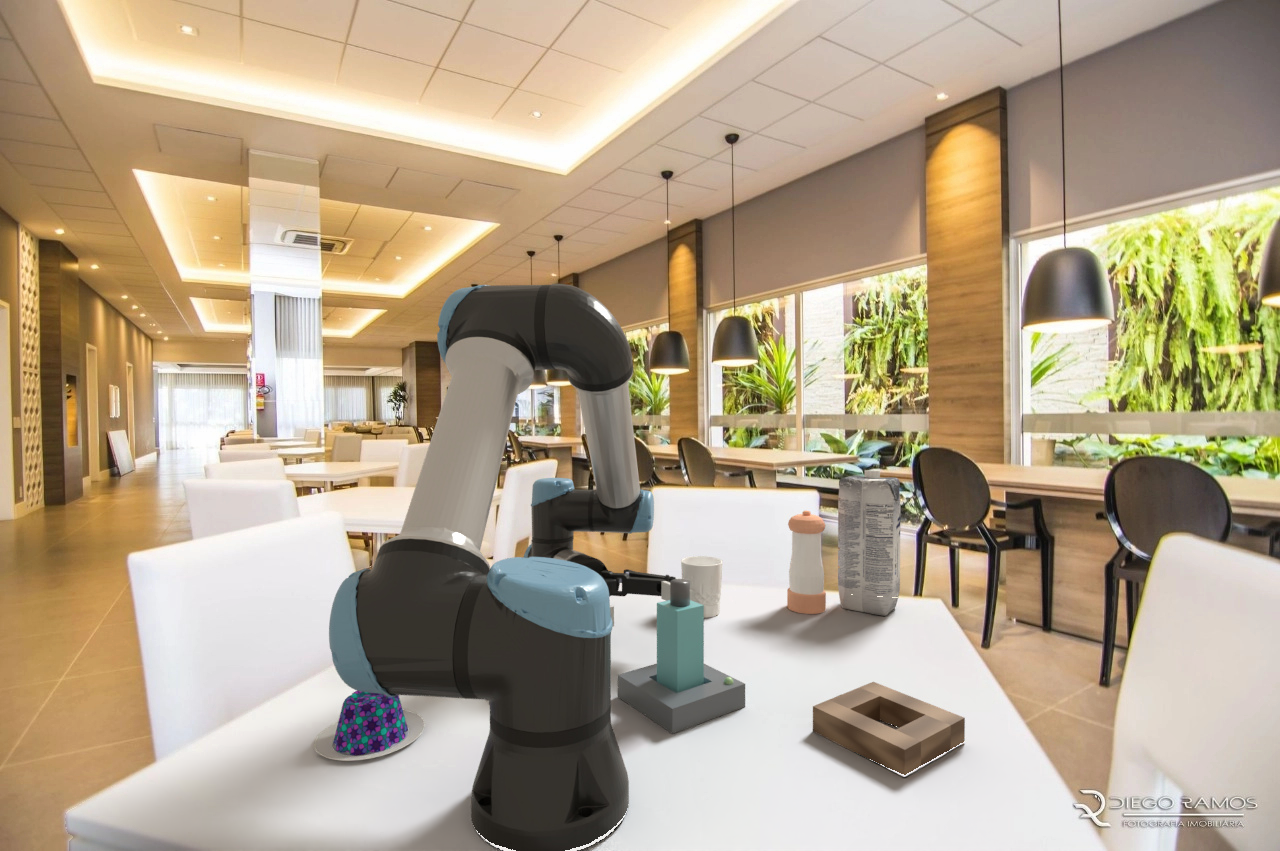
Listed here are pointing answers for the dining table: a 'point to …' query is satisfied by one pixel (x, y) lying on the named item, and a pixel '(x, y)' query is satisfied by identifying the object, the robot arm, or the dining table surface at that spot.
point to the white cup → (704, 581)
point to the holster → (900, 749)
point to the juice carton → (869, 543)
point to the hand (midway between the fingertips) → (652, 608)
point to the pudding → (369, 728)
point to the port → (680, 697)
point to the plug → (680, 639)
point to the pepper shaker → (806, 565)
